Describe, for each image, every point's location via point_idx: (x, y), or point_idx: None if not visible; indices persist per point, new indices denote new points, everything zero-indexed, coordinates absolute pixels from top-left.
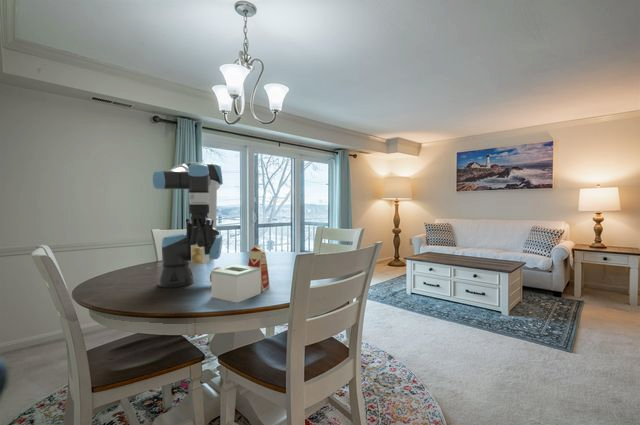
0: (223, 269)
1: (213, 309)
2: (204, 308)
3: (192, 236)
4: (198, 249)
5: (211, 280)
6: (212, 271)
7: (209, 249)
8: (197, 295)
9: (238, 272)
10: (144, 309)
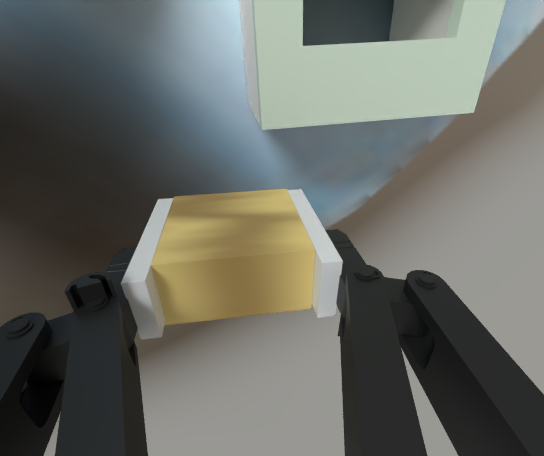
0: (308, 53)
1: (358, 189)
2: (326, 199)
3: (144, 442)
4: (270, 306)
5: (255, 117)
6: (272, 127)
7: (357, 253)
8: (170, 120)
9: (457, 62)
10: None
